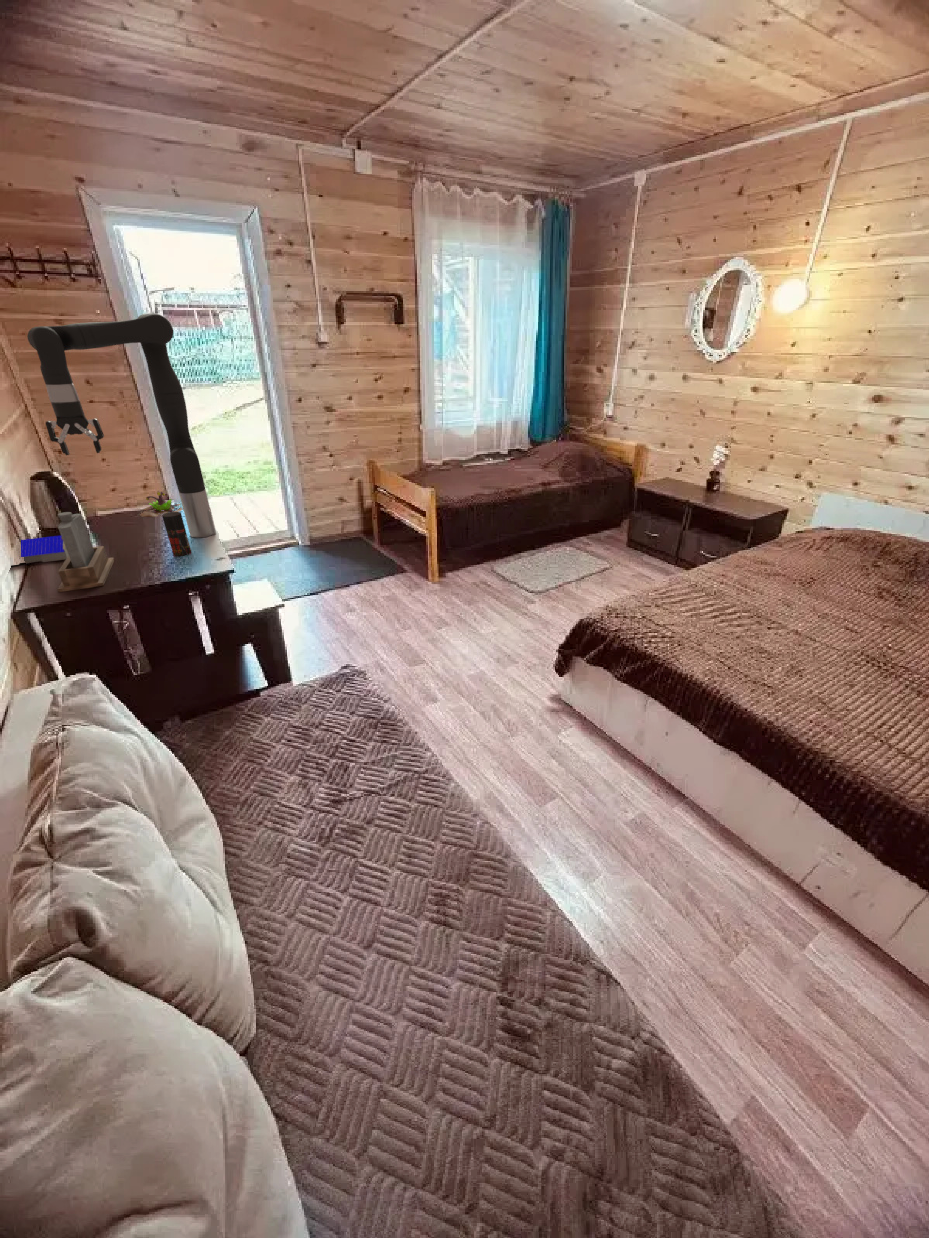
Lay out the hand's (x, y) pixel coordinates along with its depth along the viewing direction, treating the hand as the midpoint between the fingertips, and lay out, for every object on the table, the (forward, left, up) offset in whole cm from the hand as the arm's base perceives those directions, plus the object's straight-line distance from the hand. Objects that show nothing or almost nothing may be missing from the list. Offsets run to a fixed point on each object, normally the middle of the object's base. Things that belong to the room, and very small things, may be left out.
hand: (83, 453), depth 169 cm
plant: (-12, -53, -37) cm, 66 cm away
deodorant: (-21, +6, -36) cm, 42 cm away
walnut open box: (+7, +14, -36) cm, 39 cm away
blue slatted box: (+27, -12, -36) cm, 47 cm away
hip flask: (+7, +14, -35) cm, 39 cm away
